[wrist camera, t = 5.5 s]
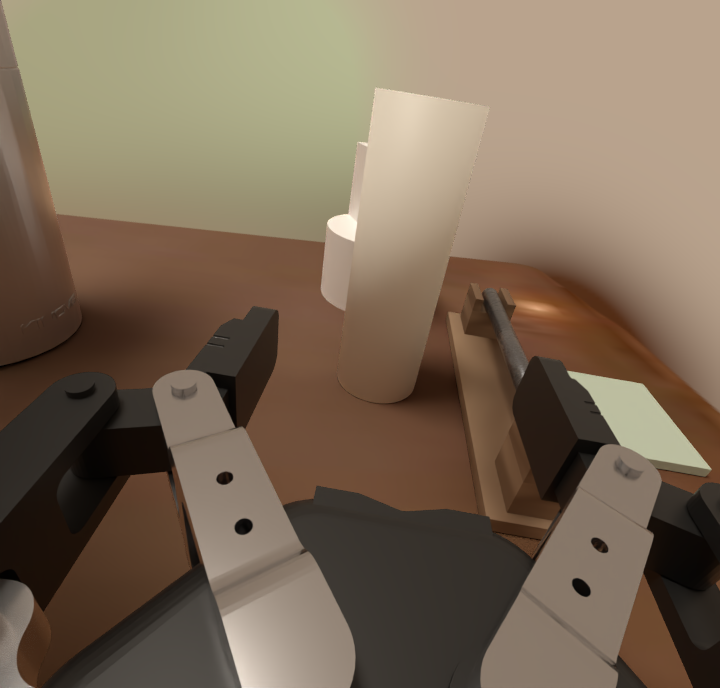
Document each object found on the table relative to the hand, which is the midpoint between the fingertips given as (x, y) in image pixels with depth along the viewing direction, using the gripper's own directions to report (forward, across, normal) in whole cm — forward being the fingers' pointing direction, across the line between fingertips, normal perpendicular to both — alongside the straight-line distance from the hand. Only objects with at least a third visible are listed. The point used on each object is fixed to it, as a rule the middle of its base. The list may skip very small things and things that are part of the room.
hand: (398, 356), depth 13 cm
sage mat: (+11, -16, +9) cm, 21 cm away
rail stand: (+11, -8, +9) cm, 16 cm away
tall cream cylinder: (+11, 0, +9) cm, 14 cm away
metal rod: (+11, -8, +6) cm, 15 cm away
